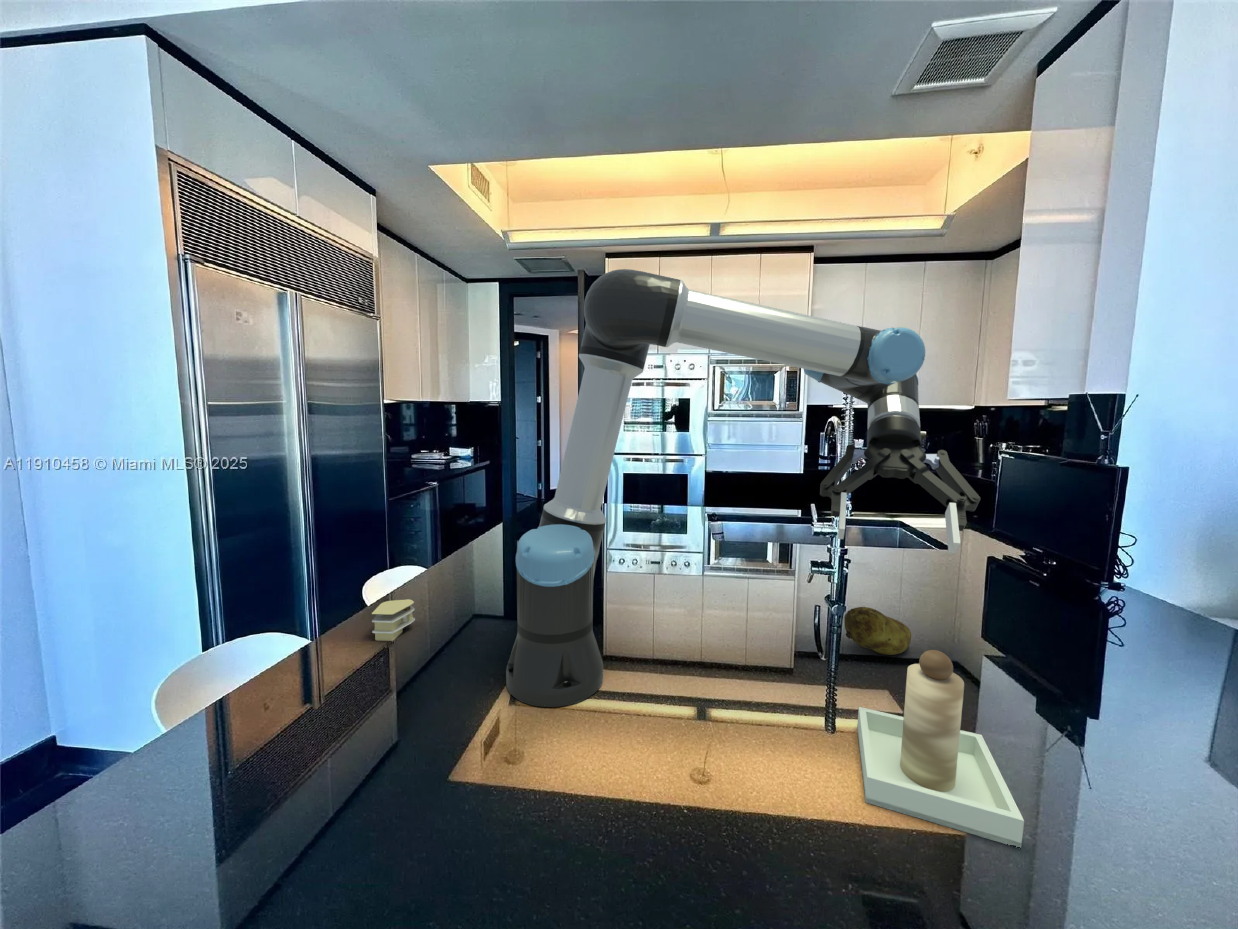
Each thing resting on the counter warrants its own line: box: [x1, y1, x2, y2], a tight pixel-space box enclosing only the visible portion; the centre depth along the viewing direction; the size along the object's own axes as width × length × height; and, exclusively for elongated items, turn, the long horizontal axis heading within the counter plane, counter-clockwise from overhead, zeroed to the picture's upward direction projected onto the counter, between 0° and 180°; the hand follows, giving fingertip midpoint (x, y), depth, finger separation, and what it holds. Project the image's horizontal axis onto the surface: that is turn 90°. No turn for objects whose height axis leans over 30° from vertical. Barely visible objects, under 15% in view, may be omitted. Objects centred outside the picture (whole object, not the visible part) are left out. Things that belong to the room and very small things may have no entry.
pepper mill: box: [900, 649, 965, 792], centre depth 54 cm, size 5×5×15 cm
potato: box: [843, 606, 912, 656], centre depth 85 cm, size 8×13×8 cm, turn 88°
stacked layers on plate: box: [371, 598, 416, 642], centre depth 89 cm, size 10×9×6 cm
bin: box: [856, 706, 1025, 849], centre depth 55 cm, size 14×14×3 cm
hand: (895, 541), depth 65 cm, fingers open, 13 cm apart
